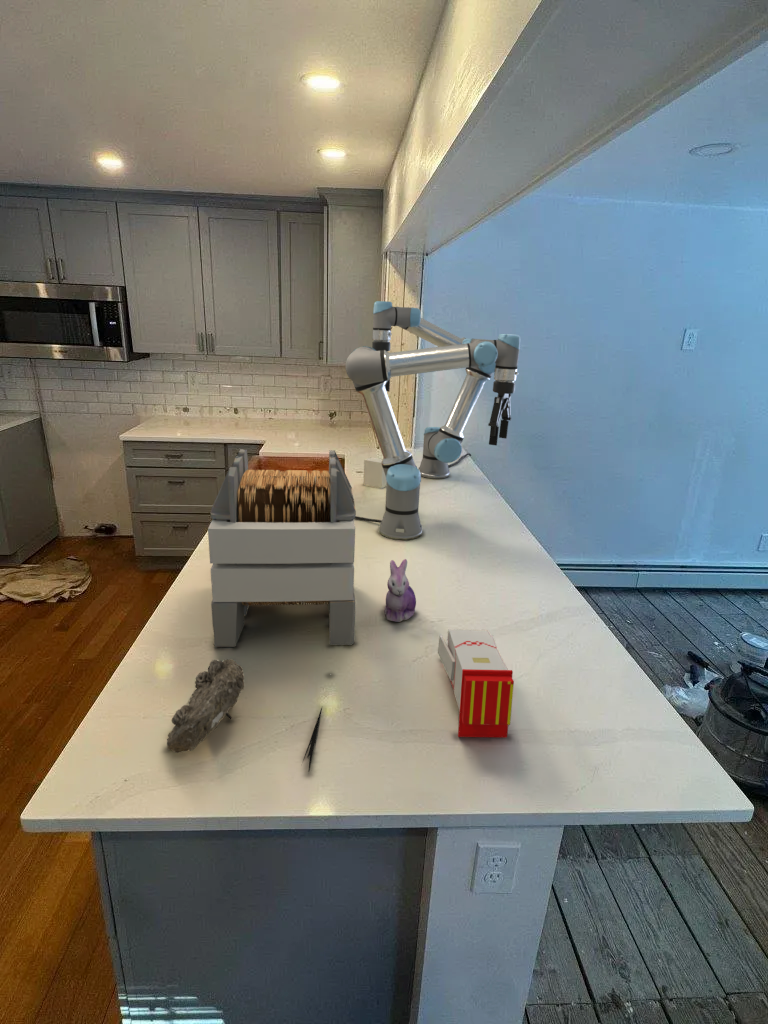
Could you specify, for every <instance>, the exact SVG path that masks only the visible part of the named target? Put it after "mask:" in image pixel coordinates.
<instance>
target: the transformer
mask: <svg viewBox="0 0 768 1024" xmlns="http://www.w3.org/2000/svg"><path fill="white" fill-rule="evenodd" d="M328 450H329V451H328V470H322V471H320V470H315V469H314V470H312V471H308V470H307V469H305V470H304V469H303V470H302V469H286V470H280V469H276V470H275V469H266V470H265V469H256V470H255V469H249V459H248V449H243V448H239V451H238V452H237V455H236V456H235V457H234V460H233V462H232V464H231V466H230V467H229V468H228V471H227V473H226V475H225V477H224V480H223V481H222V484H221V485H220V489H219V491H218V493H217V495H216V498H215V499H214V501H213V504H212V507H211V509H210V519H212V520H211V522H210V524H209V526H208V528H207V535H208V536H207V537H208V552H209V553H208V554H209V564H212V565H211V568H210V581H211V597H212V598H211V599H212V600H211V604H210V607H211V622H212V623H211V624H212V631H213V644H212V645H213V647H214V648H219V649H220V648H222V647H223V648H224V647H226V648H227V647H230V648H232V647H234V648H235V647H236V646H237V644H238V641H239V639H240V636H241V634H242V631H243V629H244V627H245V616H247V615H248V609H249V607H250V606H298V605H299V606H303V605H304V606H306V605H307V606H309V605H317V606H318V605H320V606H321V605H328V634H329V635H328V637H329V645H330V646H335V645H337V646H340V645H341V646H351V645H353V644H355V633H356V632H355V630H356V595H355V588H354V587H355V586H354V585H355V565H354V564H355V550H356V549H355V548H356V526H355V525H356V524H355V519H354V518H355V517H356V516H357V510H356V504H355V498H354V494H353V487H352V485H351V483H350V480H349V479H348V476H347V474H346V472H345V470H344V468H343V466H342V463H341V462H340V459H339V457H338V455H337V453H336V450H333V449H328Z"/></svg>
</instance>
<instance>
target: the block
mask: <svg viewBox="0 0 768 1024" xmlns="http://www.w3.org/2000/svg"><path fill="white" fill-rule="evenodd" d="M382 460H383V458H377V457H372V456H371V457H368V458H366V459H364V460H363V486H367V487H372V488H376V489H377V488H378V489H384V488H386V482H387V481H386V476H385V473H384V470H383V467H382V464H381V462H382Z"/></svg>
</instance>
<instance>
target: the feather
mask: <svg viewBox="0 0 768 1024" xmlns="http://www.w3.org/2000/svg"><path fill="white" fill-rule="evenodd" d="M329 675H330V676H331V675H332V674H331V673H330V674H329ZM322 710H323V707H321V708H320V710H319V713H318V716H317V719H316V723H315V725H314V728H313V731H312V733H311V737H310V739H309V742H308V745H307V748H306V751H305V754H304V757H303V760H302V763H301V767H302V765H303V763H304V761H305V758H308V759H309V760H308V762H307V763H308V764H307V766H308V771H310V770H311V766H312V765H311V764H312V760H313V757H315V756H314V755H315V751H316V749H315V746H317V739H318V733H319V729H320V722H321V717H322V712H323V711H322ZM313 754H314V755H313ZM306 755H307V757H306Z"/></svg>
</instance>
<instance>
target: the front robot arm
mask: <svg viewBox="0 0 768 1024" xmlns="http://www.w3.org/2000/svg"><path fill="white" fill-rule="evenodd" d="M388 352H389V351H386V350H381V351H376V350H375V349H373V348H372V346H366V345H365V346H359V347H357V348H355V349H353V351H351V353H350V354H349V355H348V356H347V359H346V362H345V371H346V375H347V377H348V378H349V380H351V381H352V384H353V387H354V390H355V392H356V393H358V394H359V395H361V396H362V399H363V401H364V405H365V408H366V411H367V414H368V417H369V420H370V423H371V425H372V428H373V431H374V434H375V437H376V439H377V443H378V446H379V448H380V449H379V450H380V451H381V454H382V457H383V458H382V459H383V460H382V462H381V464H382V467H383V470H384V473H385V476H386V481H387V482H386V486H385V504H384V505H385V507H384V508H385V509H384V513H383V515H382V519H376V518H368V517H362V516H357V515H356V517H355V518H354V520H359V521H365V522H371V523H377V524H378V523H379V527H378V533H379V534H380V535H381V536H382V537H385V538H387V539H389V540H395V541H410V540H415V539H418V538H420V537H421V536H422V535H423V525H422V524H421V518H420V515H419V507H420V506H419V505H420V504H419V503H420V490H421V483H422V476H421V474H420V471H419V469H418V468H419V467H417V465H416V463H415V460H414V457H413V454H412V452H411V451H409V450H407V449H406V446H405V443H404V440H403V436H402V434H401V430H400V427H399V425H398V422H397V419H396V415H395V413H394V410H393V407H392V404H391V400H390V398H389V395H388V391H386V388H385V385H386V383H387V381H388V380H389V379H390V380H391V379H392V378H393V377H402V376H409V375H417V374H427V373H434V372H441V371H450V370H457V369H466V368H467V367H477V366H482V367H487V366H490V365H492V364H493V363H496V365H495V372H494V373H493V380H494V381H493V384H492V392H493V393H497V396H494V400H493V405H492V409H491V414H490V418H489V422H488V424H487V425H488V427H490V429H489V440H488V446H489V445H490V446H498V439H499V438H500V439H507V438H508V429H509V421H512V416H511V415H512V413H511V412H512V409H511V407H512V403H511V402H512V401H511V400H512V395H513V394H515V391H516V380H517V376H518V375H519V371H518V367H519V366H518V365H519V358H520V352H521V336H520V335H519V334H510V333H500V334H498V337H497V339H485V338H484V339H483V338H466V339H464V340H463V343H462V344H458V345H450V346H442V347H438V346H435V347H434V346H433V347H426V348H418V349H409V350H402V351H392V352H390V353H388Z"/></svg>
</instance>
